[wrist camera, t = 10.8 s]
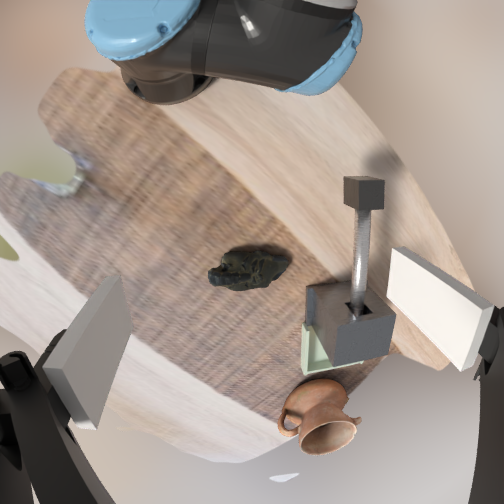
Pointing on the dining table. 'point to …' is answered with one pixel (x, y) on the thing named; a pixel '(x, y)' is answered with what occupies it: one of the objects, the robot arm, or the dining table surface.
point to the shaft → (362, 231)
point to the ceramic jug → (319, 417)
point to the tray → (314, 353)
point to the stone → (247, 270)
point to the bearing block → (348, 323)
